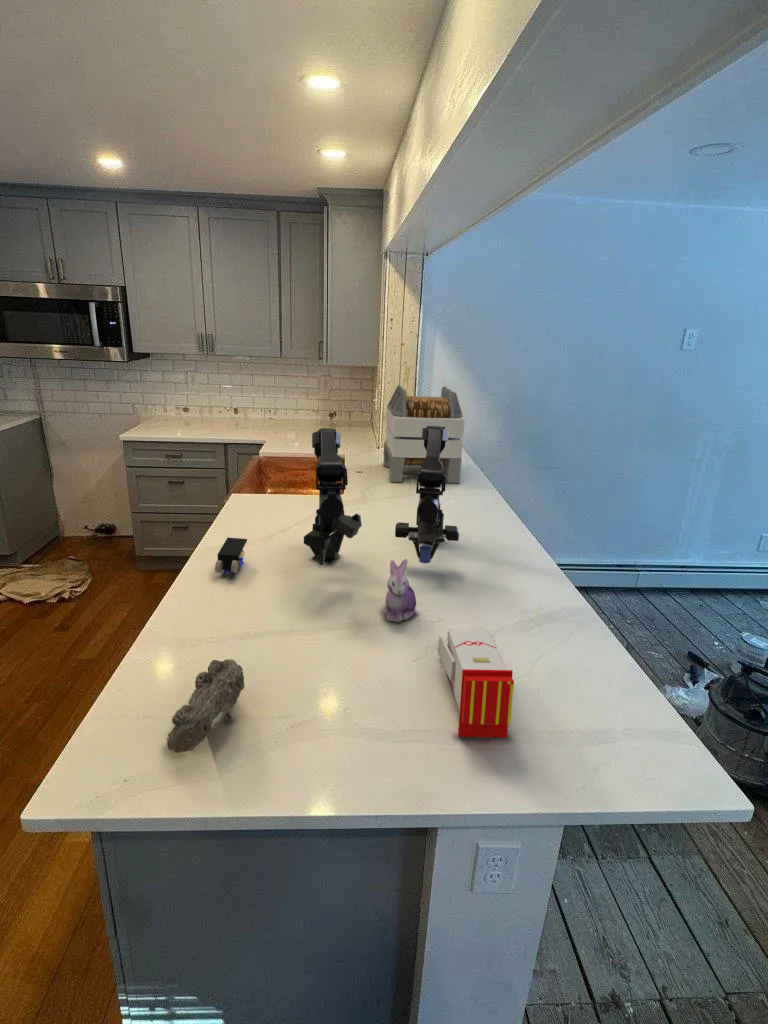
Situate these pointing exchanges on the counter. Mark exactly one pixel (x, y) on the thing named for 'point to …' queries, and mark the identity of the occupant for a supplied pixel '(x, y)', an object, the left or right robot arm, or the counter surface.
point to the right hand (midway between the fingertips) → (424, 557)
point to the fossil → (206, 705)
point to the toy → (478, 682)
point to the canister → (425, 554)
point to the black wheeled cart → (230, 556)
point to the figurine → (399, 594)
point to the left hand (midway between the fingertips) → (329, 558)
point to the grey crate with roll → (406, 432)
